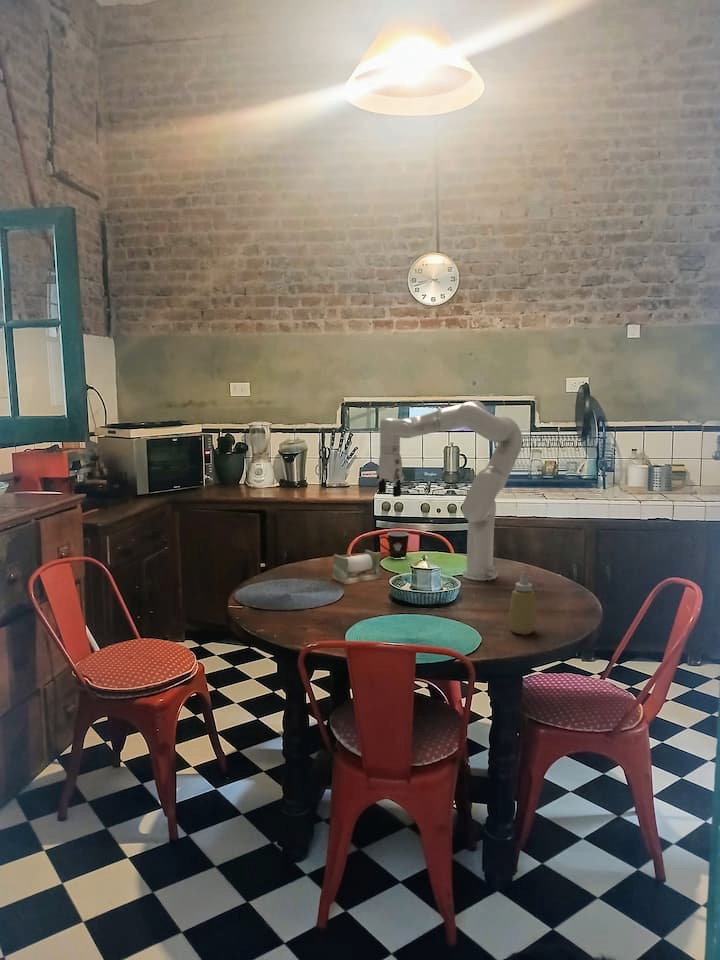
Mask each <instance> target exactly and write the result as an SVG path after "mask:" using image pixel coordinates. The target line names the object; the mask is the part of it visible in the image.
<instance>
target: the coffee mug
mask: <svg viewBox="0 0 720 960" xmlns="http://www.w3.org/2000/svg"><path fill="white" fill-rule="evenodd" d="M409 535H410V534H409V532H405V531H391V532H387V536H385V535H383V536H380V537H379V538H378V543H379V545H380V546H381V547H382V548H384V549H385V550H387V551H388V552H389V558H390V557H393V558H401V557H405V556H406V557H407V553H408V552H407V551H408V545H409ZM381 539H385V540H387V542H388V548H387V547H386V546H384V545H383V544H382V543H381Z"/></svg>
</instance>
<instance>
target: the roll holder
mask: <svg viewBox="0 0 720 960" xmlns="http://www.w3.org/2000/svg"><path fill="white" fill-rule="evenodd" d="M364 554H369V555H370V556H371V558H372V562H373V566H372V569H371V570H366V571H362V572H356V573H348V559H347V558H344V556H341V555H339V554H337V553H335V554H333V574H332V579H333V580H335V581H336V582H337V581H338V582H340V583H341V584H344V585H349V584H350V585H351V584H356V583H363V582H367V581H371V580H373V581H374V580H378V579H381V573H380V554H379V552H378V553H377V552H375V551H372V550H370V549H364Z"/></svg>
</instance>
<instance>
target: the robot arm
mask: <svg viewBox="0 0 720 960" xmlns="http://www.w3.org/2000/svg"><path fill="white" fill-rule="evenodd" d="M379 428H380V429H379V435H380V436H379V438H380V439H379V452H380V453H379V459H378V469H376V470H375V474H376V479H377V483H378V494H386V493H387V482H386V481H391V482H392V483H393V486H392V497H394V498H395V497H401V495H402V492H401V491H402V490H401V489H402V485H403V482H404V480H405V479H404V478H405V475H404V474H403V462H402V456H401V453H400V450H401V448H400V447H401V443H400V442H401V438H402V439H413V438H417V437H420V436H423V435H429V434H433V433H438V432H447V431H448V432H449V431H452V430H456V429H461V428H468V429H469V430H470V431H473V432H475V433H476V434H478V435H479V436H481V437H483V438H484V439H486V440H488V441H490V442H492V443H497V445H496V448H495V449H494V451H493V453H492V455H491V457H490V459H489V462H488V464H487V465H486V467H485V468H483V469H481V470H480V471H479V472H478V473H477V474H476V476H475V477H474V479H473V481H472V483H471V485H470V487H469V490H468V492H467V494H466V496H465V498H464V500H463V502H462V505H461V512H462V515H463V517H464V519H466V520H467V536H466V537H467V538H466V539H467V540H466V541H467V543H466V549H467V550H466V570H464V571H462V575H463V576H462V577H463V578H465V579H468V580H471V581H477V580H478V581H479V582H482V581H483V582H486V580H488V581H493V580H495V579H496V578H497V576H498V575H499V571H497V570H495V566H494V565H493V564H494V562H493V561H494V540H495V539H494V536H495V520H496V519H495V518H496V514H497V513H496V511H497V504H496V500H495V499H496V497H497V496H498V494H499V492H500V491H502V490H503V489H504V487H505V486H506V484H507V482H508V479H509V477H510V475H511V472H512V470H513V469H514V467H515V464H516V461H517V460H518V458H519V456H520V452H521V449H522V446H523V436H522V431H521V429H520V427H519V425H518V423H516V422H515V421H514V420H513V419H512V418H510V417H507V416H499V417H498V416H496V415H495V414H492V413H491V412H489V411H487V409H486V406H485V404H484V403H482V402H481V401H478V400H469V401H466V402H463V403H459V404H456V405H450V406H446V407H442V408H440V409H437V410H436V411H432V412H430V413H424V414H421V415H416V416H413V417H406V418H398V417H382V418H381V420H380V426H379ZM492 579H493V580H492Z"/></svg>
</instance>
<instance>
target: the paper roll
mask: <svg viewBox="0 0 720 960" xmlns="http://www.w3.org/2000/svg"><path fill="white" fill-rule="evenodd" d="M343 557H344V556H343ZM344 558H347V559H348V573H356V572H362V571H366V570H371V569H372V566H373V562H372V558H371V556H370V555H369V554H365V553H363V554H358V555H353V556H352V555H351V556H345V557H344Z"/></svg>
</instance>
